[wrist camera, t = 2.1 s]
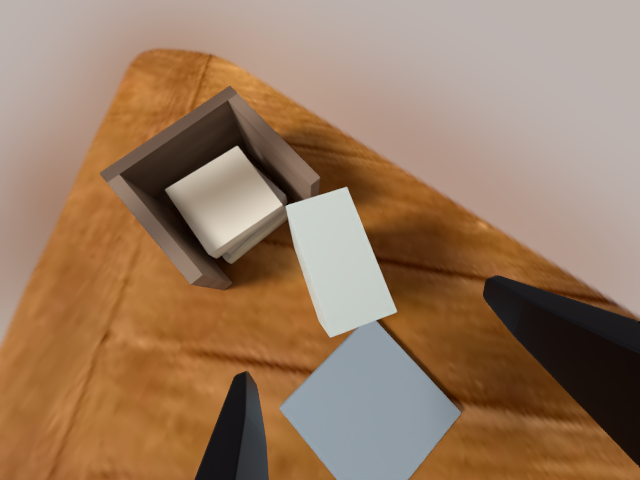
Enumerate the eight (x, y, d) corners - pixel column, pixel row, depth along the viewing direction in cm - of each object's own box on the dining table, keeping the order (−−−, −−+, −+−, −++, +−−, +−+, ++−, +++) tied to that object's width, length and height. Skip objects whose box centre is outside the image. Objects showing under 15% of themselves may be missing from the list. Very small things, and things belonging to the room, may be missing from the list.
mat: (457, 410, 19) (461, 412, 18) (370, 517, 17) (372, 523, 17) (369, 314, 20) (370, 315, 20) (279, 405, 18) (279, 408, 18)
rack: (316, 211, 22) (320, 177, 16) (224, 290, 20) (190, 284, 14) (249, 140, 23) (230, 85, 17) (155, 209, 21) (99, 173, 15)
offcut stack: (296, 217, 22) (293, 196, 18) (232, 268, 21) (212, 259, 16) (250, 166, 23) (236, 134, 18) (186, 212, 22) (156, 189, 17)
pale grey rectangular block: (355, 308, 20) (397, 312, 11) (319, 322, 20) (330, 337, 11) (329, 236, 21) (346, 186, 12) (294, 248, 21) (285, 205, 12)
